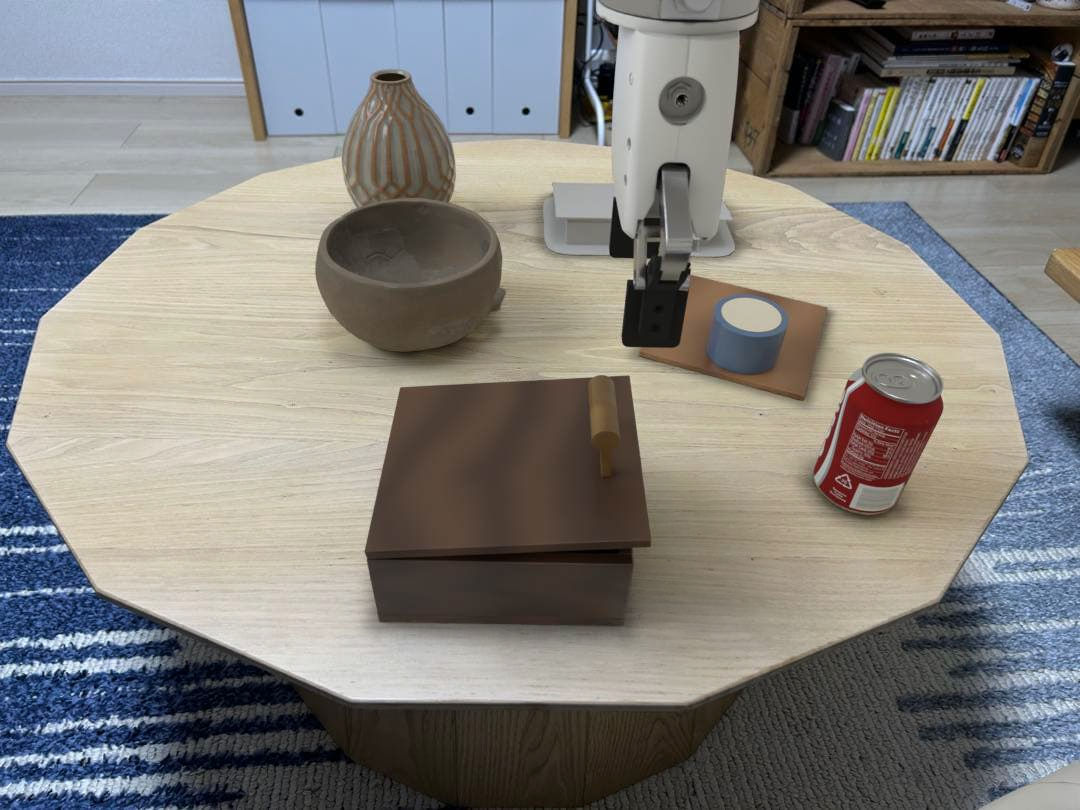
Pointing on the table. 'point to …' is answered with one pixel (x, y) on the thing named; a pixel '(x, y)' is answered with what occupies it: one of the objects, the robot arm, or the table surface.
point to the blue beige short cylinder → (746, 334)
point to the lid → (511, 470)
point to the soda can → (879, 433)
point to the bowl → (410, 272)
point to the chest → (505, 587)
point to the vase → (396, 145)
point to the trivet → (781, 379)
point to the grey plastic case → (606, 222)
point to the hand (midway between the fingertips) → (640, 296)
